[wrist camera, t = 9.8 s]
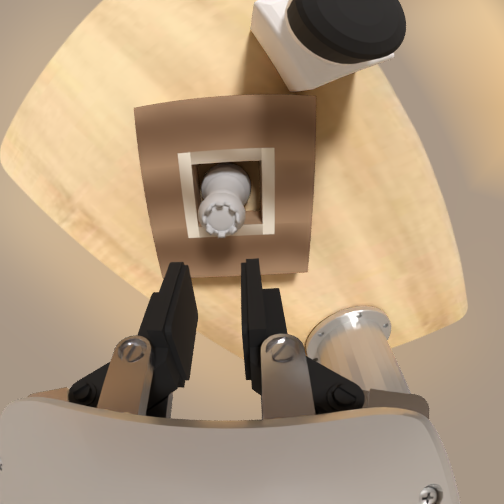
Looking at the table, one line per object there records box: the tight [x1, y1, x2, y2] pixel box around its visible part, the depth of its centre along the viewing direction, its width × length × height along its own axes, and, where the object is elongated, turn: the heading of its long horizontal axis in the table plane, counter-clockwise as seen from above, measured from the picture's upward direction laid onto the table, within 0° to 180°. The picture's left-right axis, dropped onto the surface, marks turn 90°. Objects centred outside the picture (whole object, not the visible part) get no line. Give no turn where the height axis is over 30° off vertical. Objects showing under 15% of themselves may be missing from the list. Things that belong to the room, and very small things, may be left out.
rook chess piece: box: [198, 163, 251, 238], centre depth 21 cm, size 4×4×8 cm
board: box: [134, 94, 316, 278], centre depth 23 cm, size 16×14×3 cm
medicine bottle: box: [250, 0, 406, 92], centre depth 13 cm, size 7×7×12 cm
